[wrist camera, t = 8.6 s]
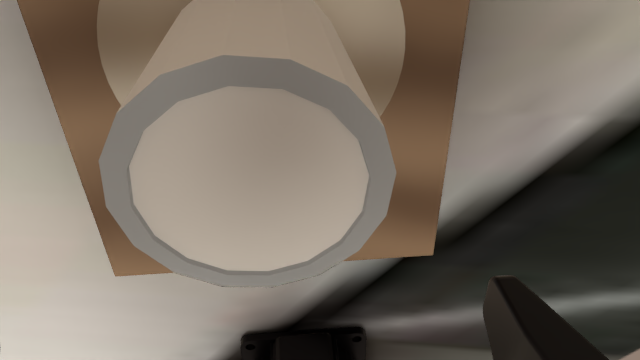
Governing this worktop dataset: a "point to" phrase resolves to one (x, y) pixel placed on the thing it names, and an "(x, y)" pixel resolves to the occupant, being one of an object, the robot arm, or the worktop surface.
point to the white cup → (248, 147)
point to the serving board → (362, 48)
